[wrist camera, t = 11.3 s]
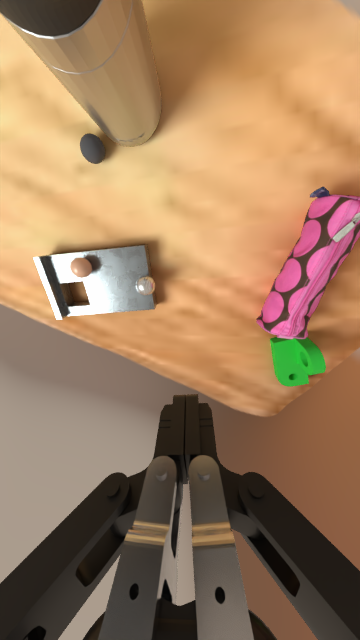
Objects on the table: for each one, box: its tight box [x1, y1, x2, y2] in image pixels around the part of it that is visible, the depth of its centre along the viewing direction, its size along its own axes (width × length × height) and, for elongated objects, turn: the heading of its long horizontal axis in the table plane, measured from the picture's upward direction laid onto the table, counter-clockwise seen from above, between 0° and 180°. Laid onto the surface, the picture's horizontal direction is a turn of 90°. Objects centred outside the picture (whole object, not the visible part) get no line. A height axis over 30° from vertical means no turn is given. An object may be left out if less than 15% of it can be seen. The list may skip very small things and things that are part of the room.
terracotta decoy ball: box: [70, 257, 92, 278], centre depth 32 cm, size 3×3×3 cm
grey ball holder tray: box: [33, 244, 157, 320], centre depth 35 cm, size 11×18×4 cm, turn 96°
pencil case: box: [256, 187, 360, 339], centre depth 30 cm, size 21×10×10 cm, turn 167°
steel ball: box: [136, 276, 155, 295], centre depth 33 cm, size 3×3×3 cm
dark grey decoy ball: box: [80, 134, 105, 164], centre depth 28 cm, size 3×3×3 cm
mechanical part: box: [270, 337, 326, 386], centre depth 39 cm, size 12×6×8 cm, turn 17°
